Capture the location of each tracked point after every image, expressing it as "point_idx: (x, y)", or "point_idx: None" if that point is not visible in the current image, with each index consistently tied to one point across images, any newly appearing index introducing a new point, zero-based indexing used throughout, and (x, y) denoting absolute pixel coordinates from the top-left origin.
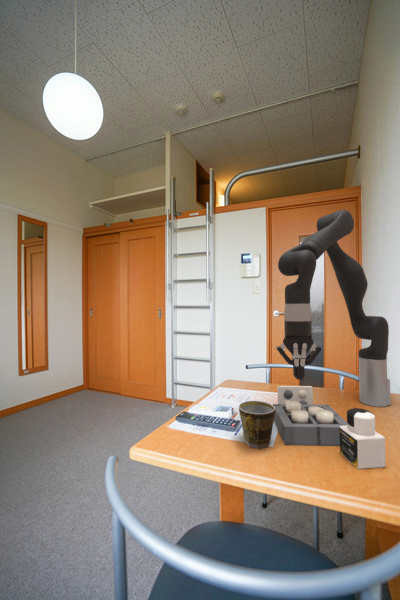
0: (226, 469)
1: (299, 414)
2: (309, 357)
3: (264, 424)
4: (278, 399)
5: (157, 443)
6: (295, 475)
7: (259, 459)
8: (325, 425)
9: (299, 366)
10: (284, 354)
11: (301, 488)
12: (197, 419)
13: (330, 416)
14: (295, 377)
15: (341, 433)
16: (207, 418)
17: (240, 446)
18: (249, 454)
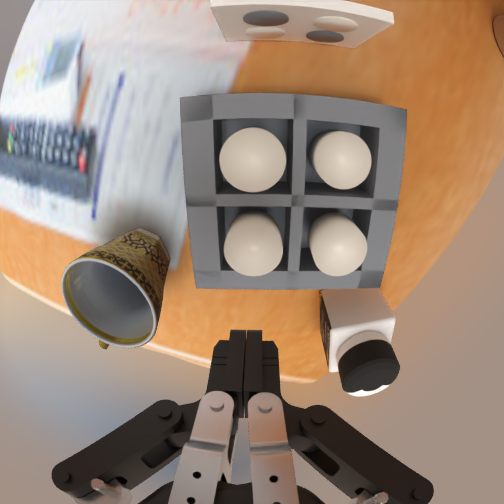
0: None
1: (246, 268)
2: (318, 468)
3: (141, 324)
4: (220, 27)
5: (8, 260)
6: (210, 346)
7: None
8: (317, 279)
9: (247, 410)
10: (132, 476)
11: None
12: (17, 151)
13: (345, 273)
14: (231, 330)
15: (327, 328)
16: (31, 139)
17: None
18: None
